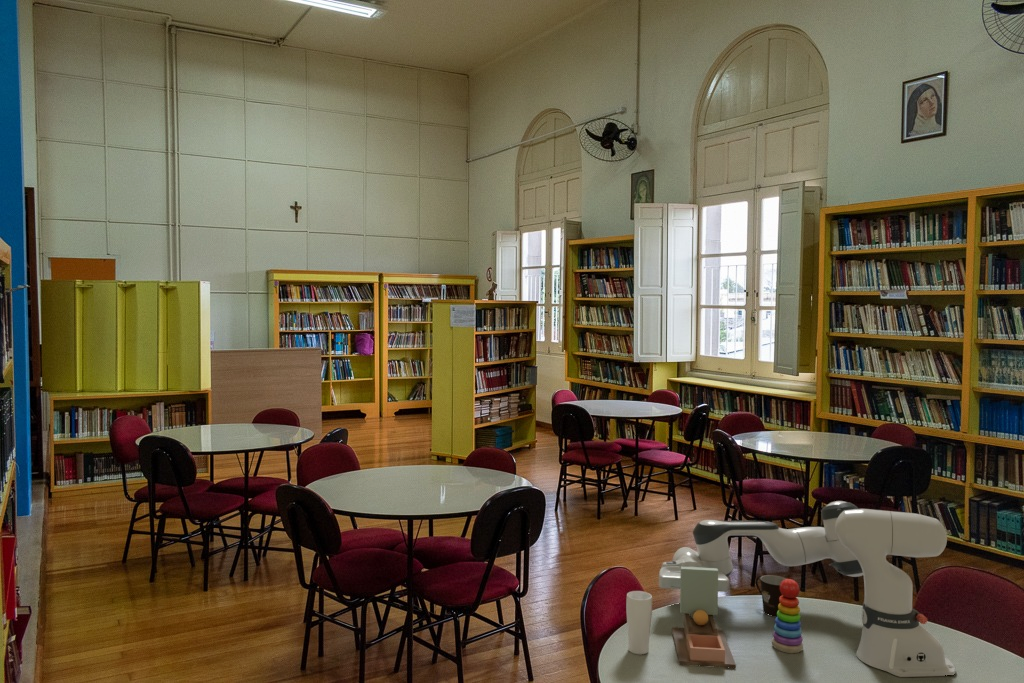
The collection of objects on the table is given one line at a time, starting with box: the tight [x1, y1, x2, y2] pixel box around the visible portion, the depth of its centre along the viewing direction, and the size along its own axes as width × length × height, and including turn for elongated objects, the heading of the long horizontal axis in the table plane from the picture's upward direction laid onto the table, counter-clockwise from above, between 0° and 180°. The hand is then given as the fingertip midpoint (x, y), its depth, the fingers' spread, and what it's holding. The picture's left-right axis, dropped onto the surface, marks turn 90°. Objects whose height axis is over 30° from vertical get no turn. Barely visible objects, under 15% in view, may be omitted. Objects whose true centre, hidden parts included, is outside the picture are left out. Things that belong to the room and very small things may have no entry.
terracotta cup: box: [686, 634, 725, 664], centre depth 191 cm, size 9×9×4 cm
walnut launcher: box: [671, 613, 737, 669], centre depth 197 cm, size 14×21×6 cm, turn 173°
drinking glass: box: [625, 590, 653, 656], centre depth 195 cm, size 7×7×15 cm
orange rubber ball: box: [693, 610, 708, 625], centre depth 201 cm, size 4×4×4 cm
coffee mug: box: [755, 574, 788, 617], centre depth 224 cm, size 12×9×10 cm
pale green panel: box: [679, 567, 719, 618], centre depth 205 cm, size 10×2×14 cm, turn 83°
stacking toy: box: [771, 578, 804, 654], centre depth 198 cm, size 8×8×19 cm
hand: (696, 590), depth 210 cm, fingers closed
